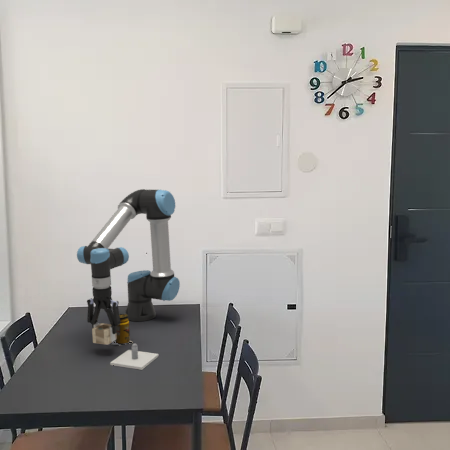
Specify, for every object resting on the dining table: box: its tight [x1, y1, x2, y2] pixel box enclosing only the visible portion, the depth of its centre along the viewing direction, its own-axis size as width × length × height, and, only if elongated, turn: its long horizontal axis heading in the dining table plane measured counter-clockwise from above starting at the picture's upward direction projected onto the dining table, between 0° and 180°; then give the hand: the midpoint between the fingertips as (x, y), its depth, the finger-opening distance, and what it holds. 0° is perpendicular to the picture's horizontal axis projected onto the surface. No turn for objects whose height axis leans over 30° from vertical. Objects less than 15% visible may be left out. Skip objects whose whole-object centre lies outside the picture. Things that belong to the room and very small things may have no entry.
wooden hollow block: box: [91, 323, 117, 345], centre depth 218 cm, size 7×7×6 cm
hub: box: [109, 342, 160, 370], centre depth 210 cm, size 14×14×7 cm
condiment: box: [110, 313, 134, 345], centre depth 229 cm, size 7×8×12 cm
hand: (105, 339), depth 218 cm, fingers closed on wooden hollow block, 7 cm apart
